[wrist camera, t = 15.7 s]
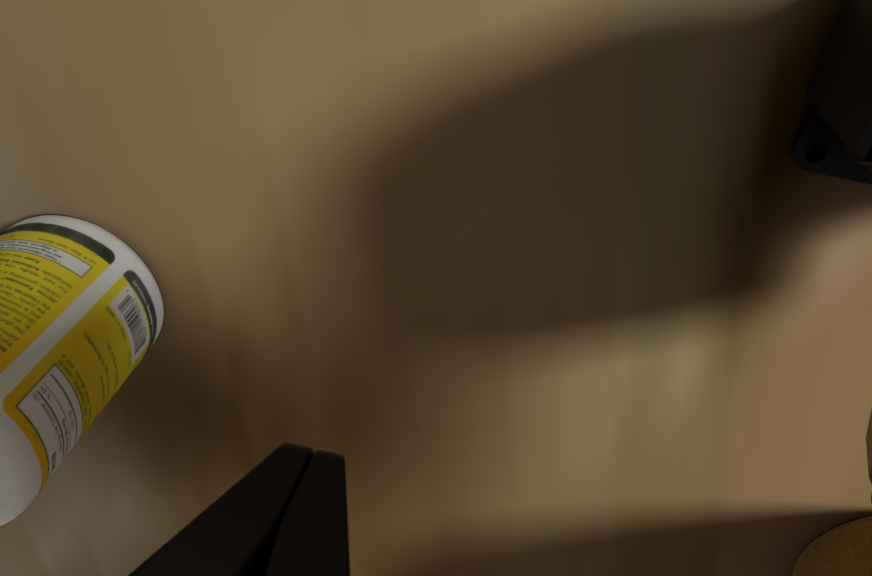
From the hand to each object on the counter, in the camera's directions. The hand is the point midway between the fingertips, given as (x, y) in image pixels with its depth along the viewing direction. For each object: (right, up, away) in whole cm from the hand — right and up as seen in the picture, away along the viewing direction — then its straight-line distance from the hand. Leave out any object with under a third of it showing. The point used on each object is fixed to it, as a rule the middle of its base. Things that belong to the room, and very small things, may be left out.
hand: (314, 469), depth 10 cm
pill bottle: (-11, +3, +17) cm, 20 cm away
